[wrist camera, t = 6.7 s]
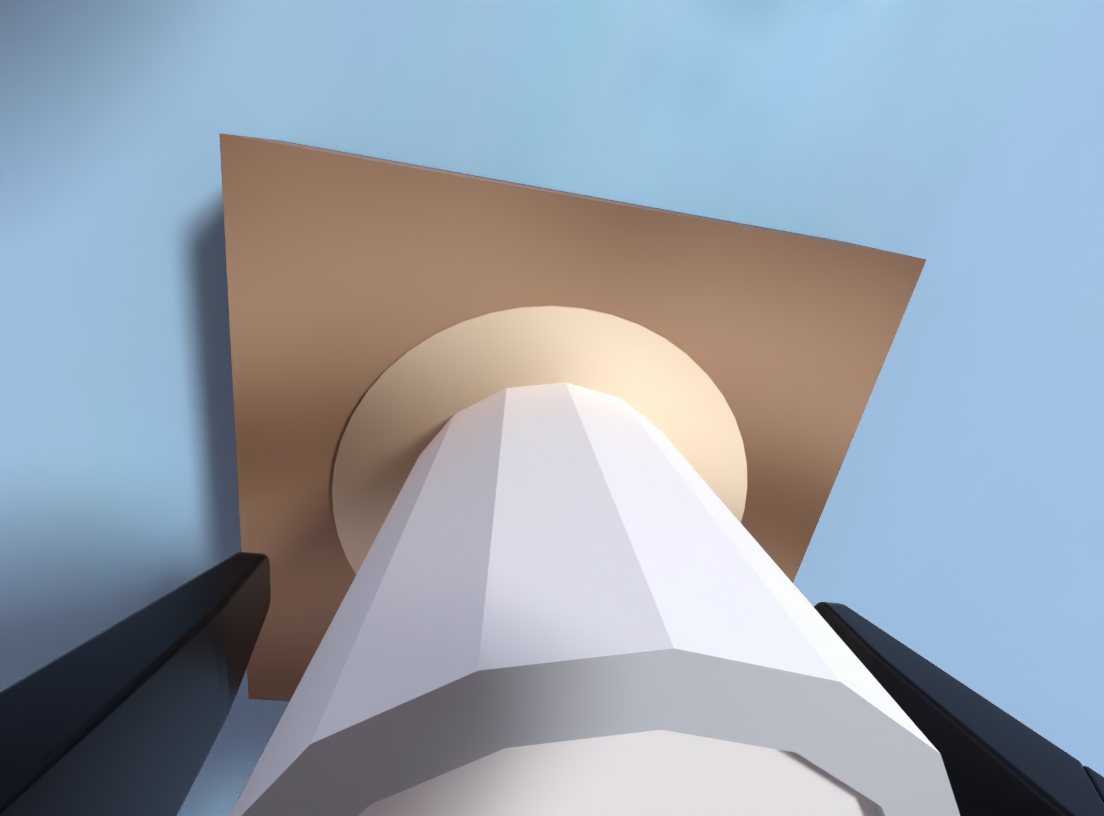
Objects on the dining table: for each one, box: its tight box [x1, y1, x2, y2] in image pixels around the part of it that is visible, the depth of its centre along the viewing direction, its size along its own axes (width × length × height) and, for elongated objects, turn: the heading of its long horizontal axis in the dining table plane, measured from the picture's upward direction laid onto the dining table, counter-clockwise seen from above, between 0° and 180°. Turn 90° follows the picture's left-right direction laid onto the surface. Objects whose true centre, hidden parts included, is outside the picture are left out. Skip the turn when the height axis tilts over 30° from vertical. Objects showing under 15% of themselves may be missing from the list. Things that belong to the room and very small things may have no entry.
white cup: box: [230, 382, 960, 816], centre depth 8 cm, size 7×7×7 cm
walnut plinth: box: [220, 134, 926, 701], centre depth 13 cm, size 12×12×3 cm
